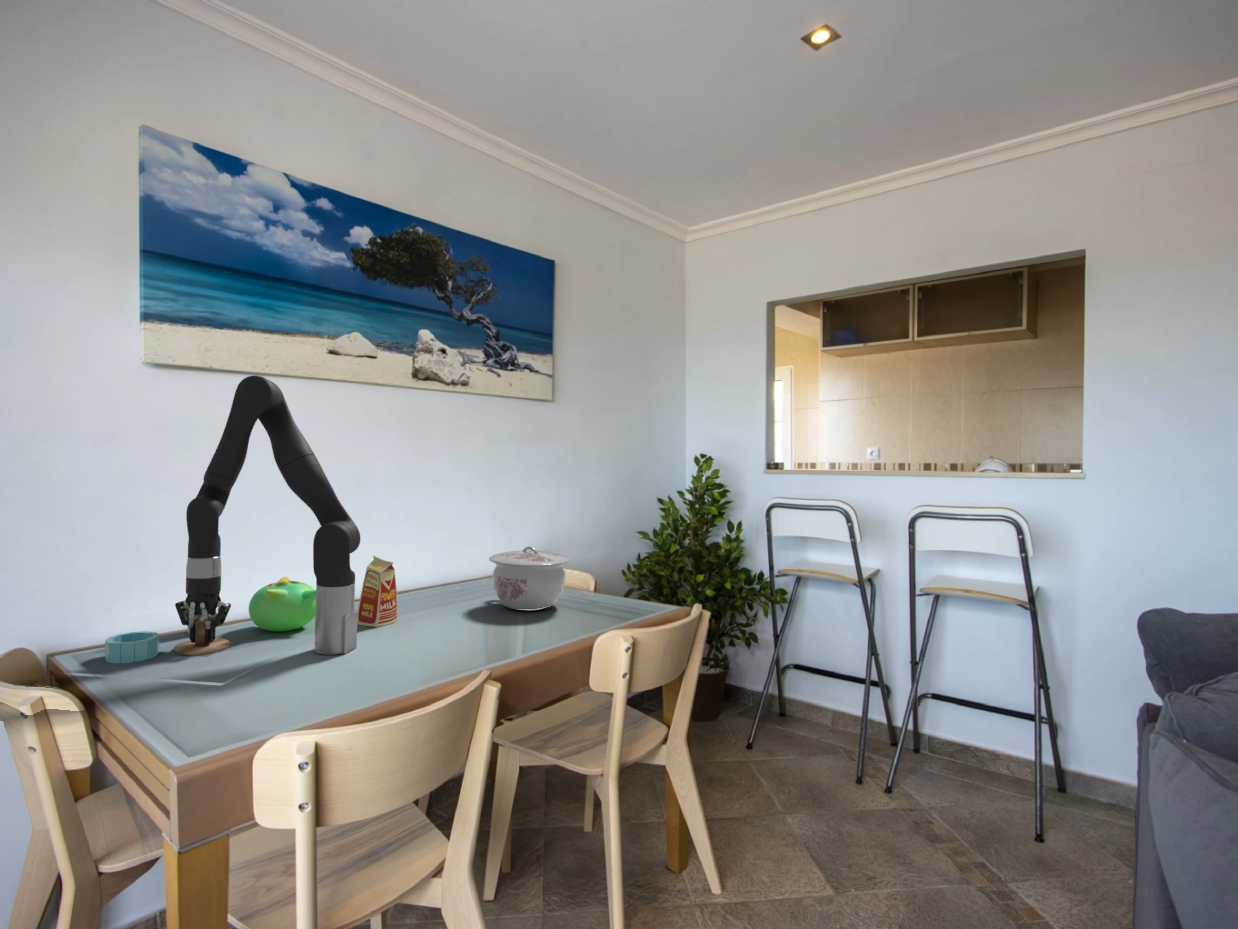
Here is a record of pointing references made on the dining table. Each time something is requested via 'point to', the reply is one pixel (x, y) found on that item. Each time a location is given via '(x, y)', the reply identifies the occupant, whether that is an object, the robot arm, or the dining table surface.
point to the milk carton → (378, 595)
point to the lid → (201, 643)
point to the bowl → (131, 647)
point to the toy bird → (283, 605)
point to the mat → (199, 655)
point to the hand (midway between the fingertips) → (202, 642)
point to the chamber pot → (528, 578)
